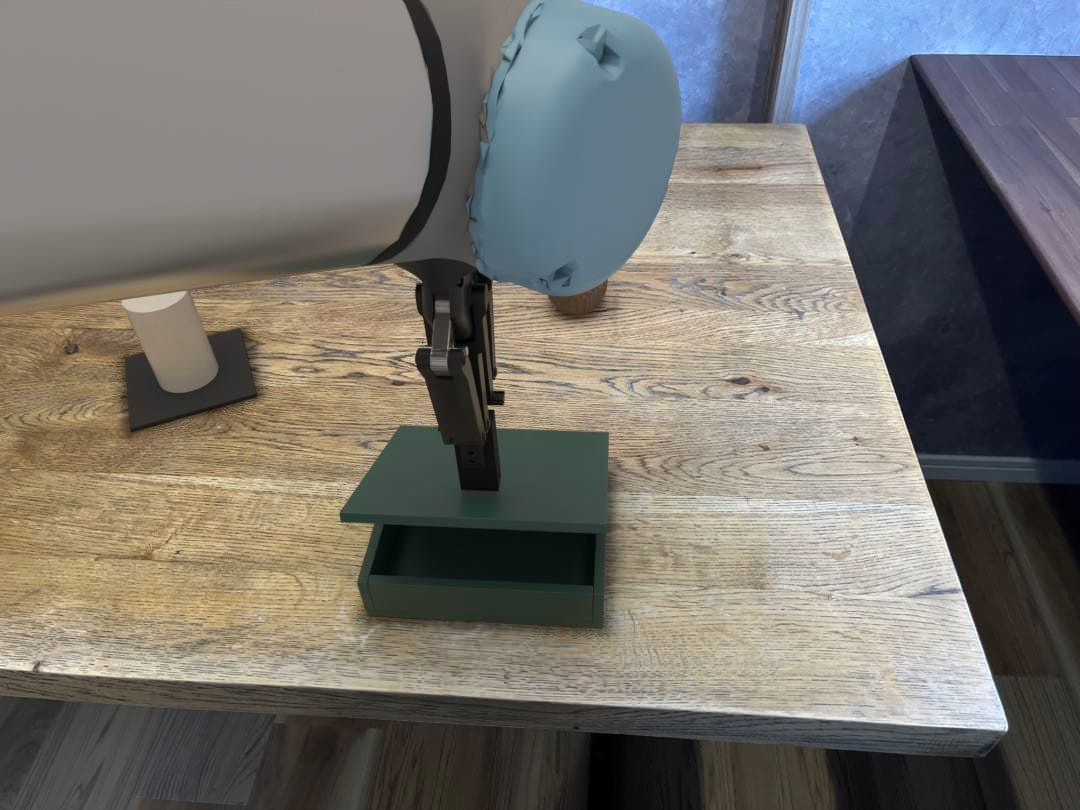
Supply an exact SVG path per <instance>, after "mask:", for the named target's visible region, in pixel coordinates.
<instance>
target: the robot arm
mask: <svg viewBox="0 0 1080 810" xmlns="http://www.w3.org/2000/svg"><path fill="white" fill-rule="evenodd" d="M681 129H682V95H681V88H680V81H679V77H678V73H677V69H676V66H675V63H674V61H673V58H672V55H671V53H670V52H669V49H668V48H667V46H666V45H665V43H664V41H663V40H662V38H661V37H660V36H659V35H658V34H657V32H656V31H655V30H653V28H652V27H651V26H650V25H649V24H647V23H646V22H644V21H642V20H640V19H638V18H637V17H635V16H632V15H630V14H627V13H625V12H621V11H617V10H614V9H610V8H607V7H603V6H599V5H596V4H592V3H589V2H585V1H583V0H0V318H4V317H11V316H18V315H25V314H32V313H39V312H48V311H53V310H62V309H68V308H76V307H82V306H90V305H96V304H97V305H98V304H104V303H111V302H112V303H113V302H118V301H122V300H126V299H133V298H140V297H147V296H154V295H161V294H168V293H176V292H183V291H190V292H191V291H197V290H203V289H211V288H217V287H225V286H232V285H239V284H247V283H253V282H260V281H269V280H275V279H281V278H289V277H296V276H303V275H309V274H317V273H324V272H332V271H338V270H346V269H352V268H359V267H369V266H370V267H371V266H378V265H379V266H380V265H391V264H394V265H395V266H397V267H399V268H400V269H403V270H405V271H407V272H408V273H410V274H412V275H413V276H414V277H416V278H417V279H418V280H420V282H416V284H415V288H414V297H415V304H416V310H417V313H418V315H420V317H422V320H423V326H424V333H425V340H426V344H424V345H423V346H422V347H418V348H416V349H417V350H416V351H415V355H414V363H415V366H416V370H417V371H418V373H419V374H420V375H421V376H422V377H423V379H424V381H425V382H424V383H425V385H426V389H427V392H428V395H429V399H430V402H431V405H432V409H433V412H434V415H435V419H436V423H437V426H438V428H437V429H438V431H440V433H441V436H442V439H443V443H444V444H445V445H454V448H455V455H456V461H457V468H458V474H459V481H460V487H461V490H474V491H499V487H500V481H501V468H500V458H499V449H498V439H497V429H496V428H497V421H496V410H495V409H489V406H495V407H497V406H498V407H504V406H505V403H506V402H505V401H506V391H505V390H498V389H497V390H495V388H494V382H493V381H496V378H497V376H498V372H499V371H498V367H497V361H496V360H497V359H496V337H495V318H494V317H495V316H494V315H495V313H494V297H493V293H494V292H493V282H494V281H495V282H497V283H499V284H502V283H507V282H508V283H511V284H513V285H517V286H520V287H522V288H526V289H528V290H531V291H534V292H537V293H539V294H540V293H541V294H542V295H546V296H548V295H551V296H573V295H576V294H580V293H583V292H587V291H589V290H591V289H593V288H595V287H597V286H598V285H600V284H602V283H603V282H604V281H606V280H607V279H608V280H609V278H611V277H612V276H614V275H616V273H618V271H620V270H621V268H622V267H623V266H624V265H625V264H626V263H627V262H628V261H629V260H630V259H631V257H633V255H634V254H635V252H636V251H637V250H638V248H639V247H640V245H641V243H643V241H644V239H645V238H646V236H647V235H648V233H649V231H650V229H651V227H652V226H653V225H654V222H655V220H656V218H657V216H658V213H659V212H660V209H661V207H662V205H663V202H664V200H665V197H666V194H667V192H668V189H669V182H670V178H671V176H672V174H673V173H672V172H673V168H674V164H675V160H676V158H677V154H678V149H679V143H680V137H681Z"/></svg>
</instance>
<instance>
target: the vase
mask: <svg viewBox="0 0 1080 810" xmlns="http://www.w3.org/2000/svg"><path fill="white" fill-rule="evenodd" d="M608 283H609V278H608V279H607V280H606V281H604V282H603V283H602V284H600V285H598V286H597V287H595V288H593V289H591V290H589V291H587V292H583V293H580V294H576V295H573V296H551V295H547V297H548V300H549V301H550V303H551V304H552V305H553V306H554V308H556V309H557V310H558V311H560V312H561V313H563V314H565V315H568V316H573V317H579V316H584V315H587V314H589V313H591V312H593V311H594V310H595V309H597V308H598V307H599V306H600V305H601V303H602V301H603V300H604V298H605V296H606V293H607V289H608Z"/></svg>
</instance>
